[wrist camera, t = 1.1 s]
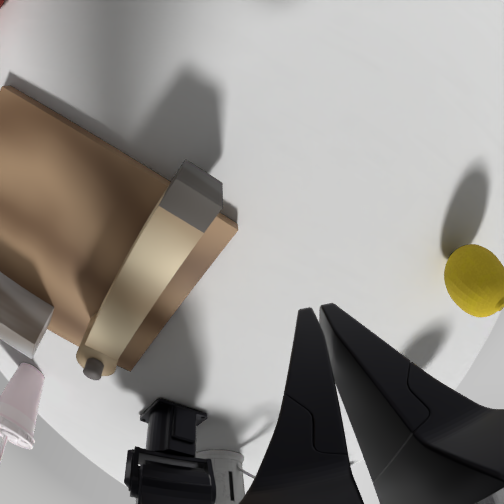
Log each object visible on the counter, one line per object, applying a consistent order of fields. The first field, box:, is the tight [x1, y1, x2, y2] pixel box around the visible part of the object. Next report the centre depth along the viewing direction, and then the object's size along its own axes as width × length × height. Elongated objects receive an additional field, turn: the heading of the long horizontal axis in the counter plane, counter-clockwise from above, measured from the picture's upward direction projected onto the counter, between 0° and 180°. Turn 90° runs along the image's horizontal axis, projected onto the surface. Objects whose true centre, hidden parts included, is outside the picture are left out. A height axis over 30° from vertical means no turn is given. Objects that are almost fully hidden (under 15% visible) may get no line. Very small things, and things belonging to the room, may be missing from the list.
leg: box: [76, 160, 223, 376], centre depth 18 cm, size 17×3×4 cm, turn 143°
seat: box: [0, 86, 238, 380], centre depth 17 cm, size 18×20×6 cm
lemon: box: [444, 244, 504, 317], centre depth 20 cm, size 6×6×8 cm
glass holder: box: [196, 450, 255, 504], centre depth 34 cm, size 9×14×15 cm, turn 122°
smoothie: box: [0, 363, 45, 464], centre depth 21 cm, size 6×6×14 cm
